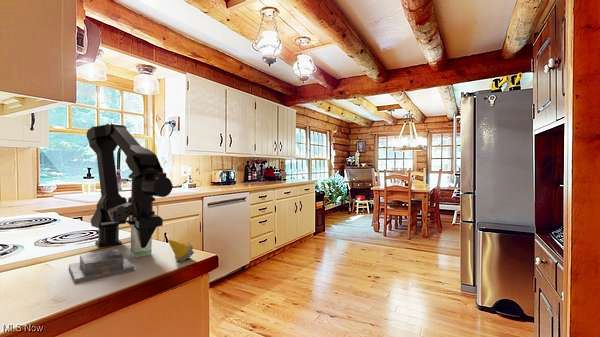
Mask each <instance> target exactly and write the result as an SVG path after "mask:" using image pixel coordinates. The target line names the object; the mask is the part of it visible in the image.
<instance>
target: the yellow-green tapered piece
mask: <svg viewBox="0 0 600 337" xmlns="http://www.w3.org/2000/svg"><path fill="white" fill-rule="evenodd" d="M167 242H168V243H169V245H170V248H171V250H172V252H173V254H174V259H175V260H176V261H177V262H180V261H181V262H184V261H186V260H187V259H190V258H189V257H192V255H194V253H195V252H194V251H193V249H194V248H193V245H192V244H191V243H188V242H186V243H183V242H179V241H176V240H172V239H167Z"/></svg>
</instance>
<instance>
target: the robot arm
mask: <svg viewBox="0 0 600 337" xmlns="http://www.w3.org/2000/svg"><path fill="white" fill-rule="evenodd" d="M86 139H87V141H88V145H89V147H90V149H91V150H92V152H94V153H95V155H96V161H97V170H98V180H99V185H100V186H99V188H100V198H99V200H98V201H97V203H96V210H95V212H94V213H93V215H92V217H91V218H90V224H91V227H94V228H97V229H98V230H97V231H98V234H97V236H98V237H97V240H95V242H96V243H97V244H96V243H95V242H94V243H95V244H96V245H98V246H97V247H99V248H100V247H107V246H113V245H121V244H122V243H123V242H122V241H121V240H120V238H119V237H120V235H119V234H120V225H124V224H126V223H127V224H128V225H130V226H131V224H136V226H133V227H134V228H136V229H137V230H138V231H139V237H140V243H141V248H145V247H146V246H147V244H148V242H149V240H150V238H151V236H153V234H154V233H155V231H156V229H157V227H158V228H159V227H162V226H163V225H164V220H163V218H162V217H161V216H159V215H157V214H155V210H154V206H153V205H154V202H155V201H156V197H161V198H166V197H168V196H169V195H170V194H171V192H172V190H173V183H172V181H171V179H170V178H169V177H167V173H166V172H164V169H163V167H162V165H161V163H160V161H159V158H158V156H157V154H156V153H155V152H153V151H152V150H151V149H148V148H146V147H144V146H142V145H141V144H140V143H139V142H138V140H136V139H135V137H134V136H133V135H132V134H131V133H130V131H129V130H128V129H127V126H126V125H124V124H122V123H115V122H114V123H113V122H109V123H106V124H102V125H96V126H94V125H93V126H91V128H88V130H86ZM117 146H118V147H119V148H120V150H121V151H122V152H123V153H124V155H125V156H126V157H125V164H126V165H127V167H128V169H129V170H130V171H131V173H130V174H129V175H128V178H129V179H131V187H130V188H131V189H130V190H131V192H130V194H131V195H130V197H128V198H126V197H124V196H122V195H121V194H120V193H119V186H118V184H119V183H118V177H117V169H116V161H115V160H116V159H115V153H114V152H115V150H116V149H117ZM127 199H128V200H127ZM127 219H128V220H127Z"/></svg>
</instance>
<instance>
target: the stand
mask: <svg viewBox="0 0 600 337" xmlns="http://www.w3.org/2000/svg"><path fill="white" fill-rule="evenodd" d="M68 269H69V272H70V273H71V276H72V279H73V282H74V284H79V283H83V282H87V281H92V280H98V279H102V278H107V277H111V276H117V275H121V274H126V273H131V272H135V266H134V265H133V264H132V263H131V261H129V260H128V259H127V257H125V256H124V255H123V254H121V252H119V250H118V249H116V248H115V249H109V250H103V251H97V252H90V253H84V254H80V255H79V262H75V263H69V264H68Z"/></svg>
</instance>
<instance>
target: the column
mask: <svg viewBox="0 0 600 337" xmlns="http://www.w3.org/2000/svg"><path fill="white" fill-rule="evenodd" d="M133 226H136V224H131V225H130V250H129V252H130V255H131V256H132V257H133V258H140V257H146V256H152V252H153V251H152V250H153V249H152V247H153V246H152V245H153V244H152V242H153V241H152V240H153V238H152V236H153V235H152V236H151V238H150V240H149V242H148V244H147V246H146V247H145V248H141V243H140V237H139V231H138V230H137V229H136V228H134V227H133Z"/></svg>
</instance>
